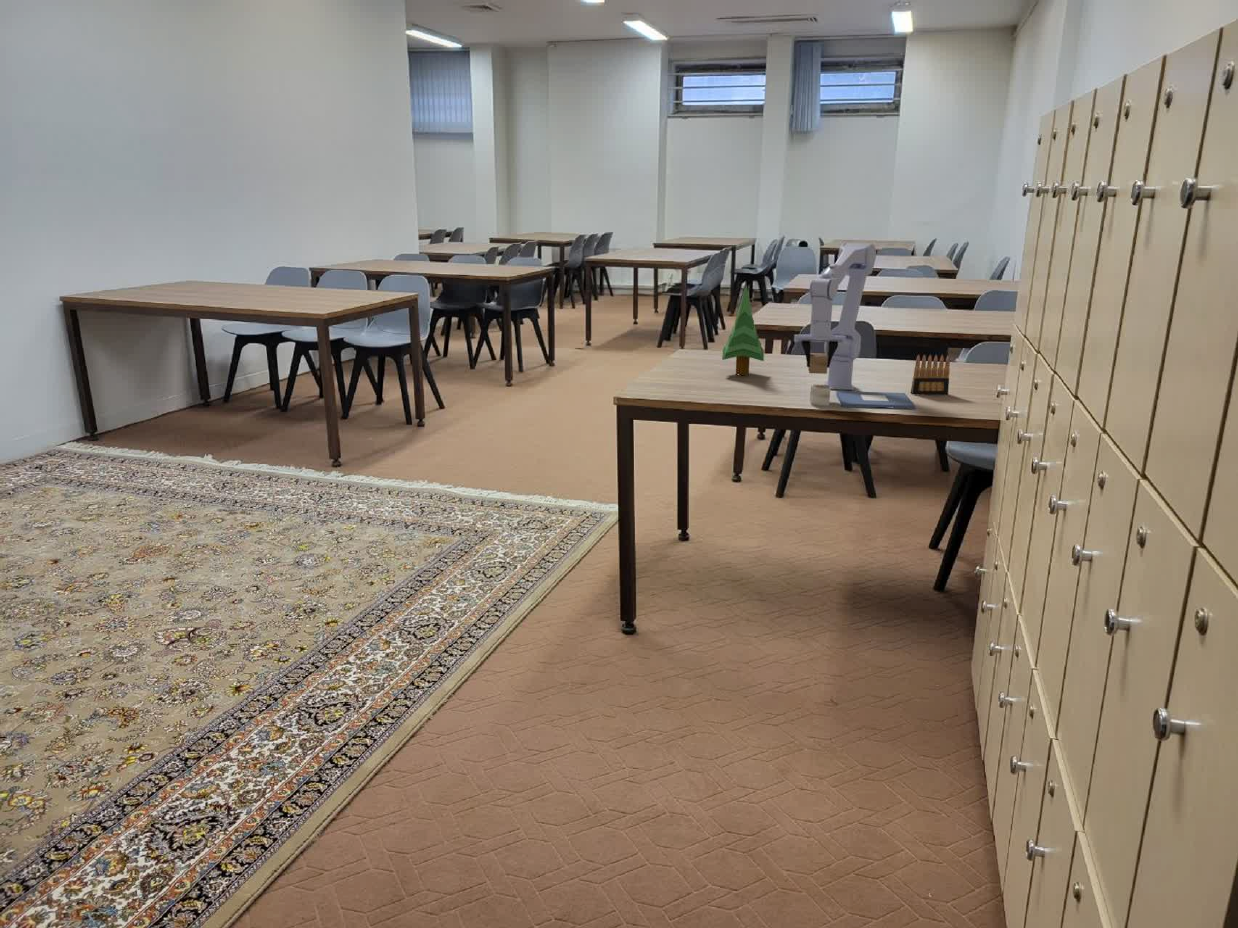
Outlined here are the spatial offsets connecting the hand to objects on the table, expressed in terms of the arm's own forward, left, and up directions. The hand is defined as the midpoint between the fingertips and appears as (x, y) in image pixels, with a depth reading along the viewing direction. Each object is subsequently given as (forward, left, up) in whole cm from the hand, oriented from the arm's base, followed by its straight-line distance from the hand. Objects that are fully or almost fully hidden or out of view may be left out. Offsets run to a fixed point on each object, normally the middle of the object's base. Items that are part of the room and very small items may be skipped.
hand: (817, 366), depth 258 cm
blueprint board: (+3, +16, -9) cm, 19 cm away
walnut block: (0, 0, -2) cm, 2 cm away
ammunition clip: (-9, +34, -10) cm, 37 cm away
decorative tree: (-31, -22, -10) cm, 39 cm away
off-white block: (+7, 0, -10) cm, 12 cm away
